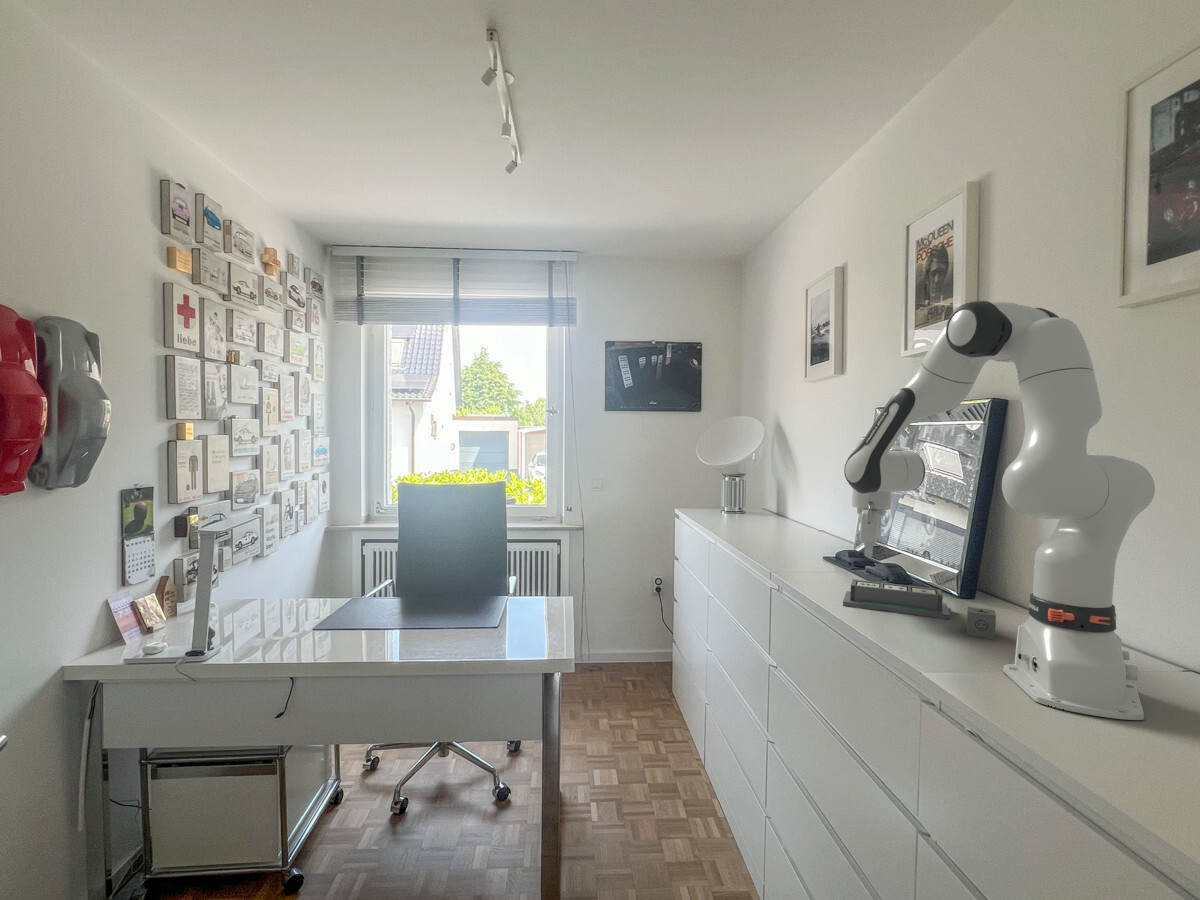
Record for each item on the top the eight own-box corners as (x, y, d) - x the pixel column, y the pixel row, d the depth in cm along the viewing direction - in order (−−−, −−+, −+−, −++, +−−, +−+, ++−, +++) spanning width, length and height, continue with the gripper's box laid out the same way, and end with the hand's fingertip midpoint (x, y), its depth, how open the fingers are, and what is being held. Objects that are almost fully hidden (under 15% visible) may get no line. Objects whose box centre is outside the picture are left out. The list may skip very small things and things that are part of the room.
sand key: (935, 602, 154) (936, 594, 154) (912, 599, 156) (912, 591, 156) (934, 597, 158) (934, 589, 158) (911, 595, 160) (912, 587, 160)
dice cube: (967, 635, 138) (968, 611, 138) (966, 629, 142) (967, 606, 142) (994, 639, 136) (995, 615, 135) (993, 633, 140) (994, 610, 140)
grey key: (906, 599, 156) (907, 590, 156) (883, 596, 158) (884, 588, 158) (906, 594, 161) (906, 586, 161) (884, 591, 163) (884, 584, 163)
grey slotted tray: (949, 619, 150) (950, 598, 149) (842, 605, 159) (843, 586, 159) (946, 607, 160) (946, 588, 160) (846, 594, 170) (846, 576, 170)
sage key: (878, 595, 159) (878, 587, 159) (856, 593, 161) (856, 585, 161) (879, 591, 163) (879, 583, 163) (857, 588, 165) (857, 581, 165)
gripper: (884, 506, 151) (881, 565, 151) (885, 497, 170) (882, 550, 170) (855, 503, 153) (852, 562, 154) (859, 496, 172) (856, 548, 173)
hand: (868, 556), depth 162 cm, fingers closed
